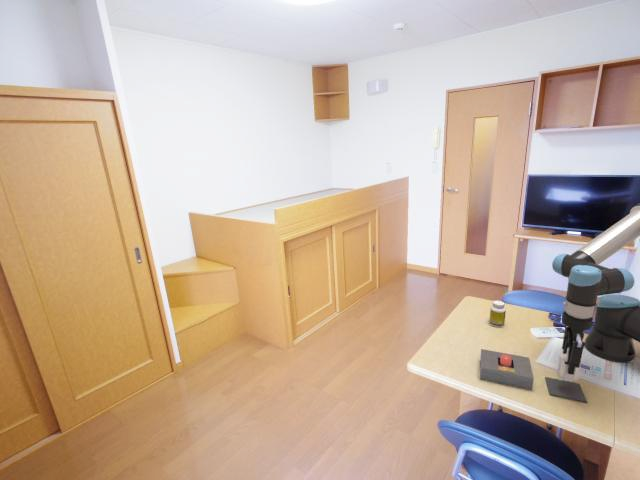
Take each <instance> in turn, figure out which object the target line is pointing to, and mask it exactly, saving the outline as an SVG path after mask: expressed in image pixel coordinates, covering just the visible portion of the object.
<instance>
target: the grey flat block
mask: <svg viewBox="0 0 640 480" xmlns="http://www.w3.org/2000/svg"><path fill="white" fill-rule="evenodd" d="M502 354H507V355H509V356H511V357H512V363H511V368H510V367H505V366H500V357H501V355H502ZM479 362H480V364H479V365H480V366H479V367H480V369H479V372H480V375H479V377H480V380H482V381H486V382H491V383H495V384H500V385H505V386H509V387H515V388H519V389H524V390H527V391H533V386H534V385H533V384H534V378H535V377H534V373H533V369H532V364H531V359H530V357H527V356H523V355H522V356H521V355H516V354H511V353H506V352H500V351H494V350H489V349H484V348H481V349H480V360H479Z"/></svg>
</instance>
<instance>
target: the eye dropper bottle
mask: <svg viewBox="0 0 640 480" xmlns="http://www.w3.org/2000/svg"><path fill="white" fill-rule="evenodd" d="M568 352H569V348H567V353H566V354H563V353H562V354H560V355H559V357H558V364H557V370H556V374H557V375H556V376H557V377H558V378H560V379H563V376H564V370H565V365H566V364H565V363H564V362H567V360H568ZM581 365H582V360H581V361H580V367H579V368H577V367H576V371H575V377H574V381H578V379H579V375H580V370H581Z"/></svg>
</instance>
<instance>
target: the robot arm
mask: <svg viewBox="0 0 640 480" xmlns="http://www.w3.org/2000/svg"><path fill="white" fill-rule="evenodd" d="M639 237H640V202H639V203H637V204H636V205H635V206H633V207H632V208H631V209H630V211H629V214H627V215H626V216H625V217H623V218H621V219H620V220H619V221H617V222H616V223H614V224H613V225H611V226H610V227H609V228H607V229H606V230H604V231H603V232H601V233H600V234H598V235H597V236H596V237H594V238H592V240H590V241H588V242H587V243H586V244H584V245H583V246H582V247H580V248H579V249H577V250H576V251H575V252H573V253H572V254H568V253H561V254H558V255H556V256H555V257H554V258H553V261H552V263H551V264H552V267H551V268H552V269H553V271H554V272H555V273H556V274H558V275H561V276H562V277H564V278H567V281H568V282H567V288H566V289H567V290H566V296H565V301H563V302H562V305H563V306H564V307H563V311H562V318H561V322H562V323H563V325H564V334H563V341H562V347H561V349H562V354H566V353H567V348H569V352H568V360H567V362H564V363H565V364H566V365H565V370H564V376H563V378H562V380H564V381H569V382H574V381H575V380H574V377H575V371H576V367H577V368H579V367H580V368H581V365H580V361H581V362H582V356H583V351H584V348H586V350H587V351H588V352H590V353H591V354H593V355H595V356H597V357H599V358H601V359H604V360H607V361H611V362H616V363H630V362H633V361H634V360H635V358H636V349H635V344H634V341H636V342H638V343H640V299H638V298H636V297H633V296H628V295H623V294H620V293H623V292H629V291H630V290H632V289H633V287H634V285H635V278H634V275H633V274H632V273H631V272H630V271H629V270H627V269H626V268H622V267H613V268H608V267H605V266H604V265H600V264H601V263H603V262H604V261H606V260H608V259H609V258H610V257H612V256H613V255H615V254H616V253H618V252H619V251H620V250H621V249H623V248H624V247H626V246H627V245H629V244H630V243H632V242H633V241H635V240H636V239H638V238H639ZM598 296H599V298H598ZM597 300H598V302H597ZM594 316H595V317H594ZM593 320H594V321H593ZM592 325H593V326H592ZM591 328H592V329H591ZM590 329H591V331H589V334H588V335H587V336H586V337H585V333H584V331H588V330H590ZM584 338H585V339H584ZM583 340H584V341H583ZM633 340H634V341H633ZM574 383H575V382H574Z"/></svg>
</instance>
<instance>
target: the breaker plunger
mask: <svg viewBox="0 0 640 480" xmlns="http://www.w3.org/2000/svg"><path fill="white" fill-rule="evenodd" d="M507 354H508V353H506V354H502V355H501V357H500V366H505V367H510V368H511V363H512V357H511V356H509V355H507Z"/></svg>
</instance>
